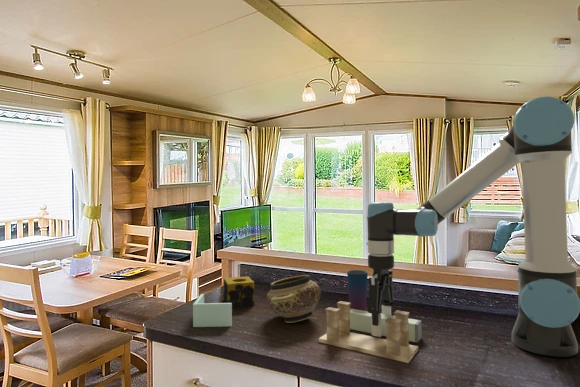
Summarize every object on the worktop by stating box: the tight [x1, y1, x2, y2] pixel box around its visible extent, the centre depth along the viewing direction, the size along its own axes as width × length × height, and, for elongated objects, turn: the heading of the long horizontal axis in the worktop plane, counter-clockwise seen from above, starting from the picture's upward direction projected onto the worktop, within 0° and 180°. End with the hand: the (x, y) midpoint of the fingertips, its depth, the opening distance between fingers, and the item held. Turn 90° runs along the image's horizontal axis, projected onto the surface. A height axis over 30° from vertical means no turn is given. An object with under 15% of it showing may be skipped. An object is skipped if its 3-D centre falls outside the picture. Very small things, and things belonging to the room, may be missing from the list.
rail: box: [350, 308, 423, 343], centre depth 114 cm, size 22×4×5 cm, turn 56°
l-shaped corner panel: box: [192, 293, 233, 328], centre depth 126 cm, size 12×12×8 cm
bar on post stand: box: [318, 300, 419, 364], centre depth 104 cm, size 25×9×10 cm, turn 56°
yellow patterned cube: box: [222, 275, 255, 309], centre depth 142 cm, size 10×10×10 cm
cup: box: [346, 269, 369, 311], centre depth 129 cm, size 7×7×15 cm
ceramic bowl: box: [265, 274, 322, 324], centre depth 125 cm, size 24×18×15 cm
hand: (381, 331), depth 114 cm, fingers open, 8 cm apart
